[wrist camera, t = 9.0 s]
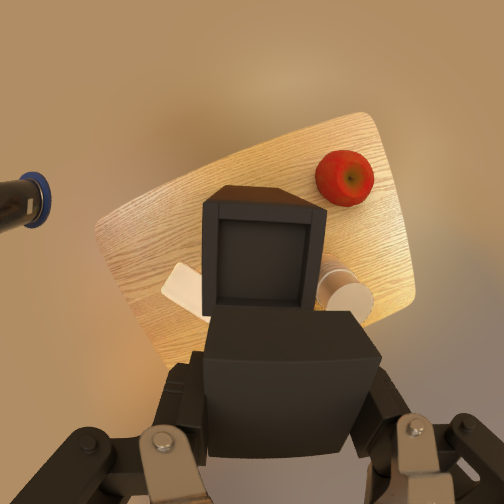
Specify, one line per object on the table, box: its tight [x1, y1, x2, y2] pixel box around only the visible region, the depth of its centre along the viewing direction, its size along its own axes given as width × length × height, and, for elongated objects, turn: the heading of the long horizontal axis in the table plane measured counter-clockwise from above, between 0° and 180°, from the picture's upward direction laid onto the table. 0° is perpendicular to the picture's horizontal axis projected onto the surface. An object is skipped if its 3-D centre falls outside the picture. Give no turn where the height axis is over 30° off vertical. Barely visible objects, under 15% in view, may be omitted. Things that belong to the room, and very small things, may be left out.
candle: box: [316, 252, 374, 324], centre depth 41 cm, size 7×7×15 cm
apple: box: [315, 150, 374, 207], centre depth 39 cm, size 9×8×11 cm
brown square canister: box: [202, 185, 327, 317], centre depth 33 cm, size 9×9×26 cm
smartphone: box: [161, 262, 211, 324], centre depth 49 cm, size 7×1×15 cm
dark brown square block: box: [202, 307, 382, 459], centre depth 9 cm, size 5×5×3 cm
